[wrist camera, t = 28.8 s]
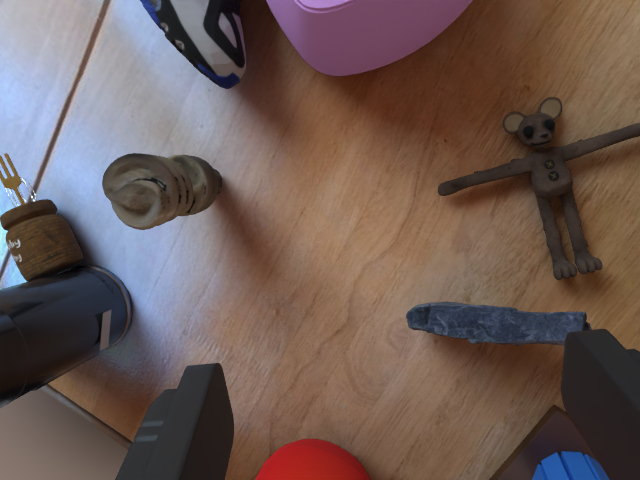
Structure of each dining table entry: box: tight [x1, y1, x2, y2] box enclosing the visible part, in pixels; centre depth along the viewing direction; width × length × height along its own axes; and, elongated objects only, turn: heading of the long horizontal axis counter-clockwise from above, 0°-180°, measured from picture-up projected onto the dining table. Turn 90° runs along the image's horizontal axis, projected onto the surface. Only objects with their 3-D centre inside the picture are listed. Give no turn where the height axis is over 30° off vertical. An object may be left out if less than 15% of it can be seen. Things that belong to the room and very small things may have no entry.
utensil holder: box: [0, 153, 83, 282], centre depth 51 cm, size 6×6×12 cm
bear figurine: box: [438, 97, 640, 280], centre depth 41 cm, size 18×4×14 cm
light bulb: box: [102, 153, 222, 230], centre depth 42 cm, size 6×6×15 cm
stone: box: [406, 302, 592, 346], centre depth 41 cm, size 14×6×10 cm, turn 108°
